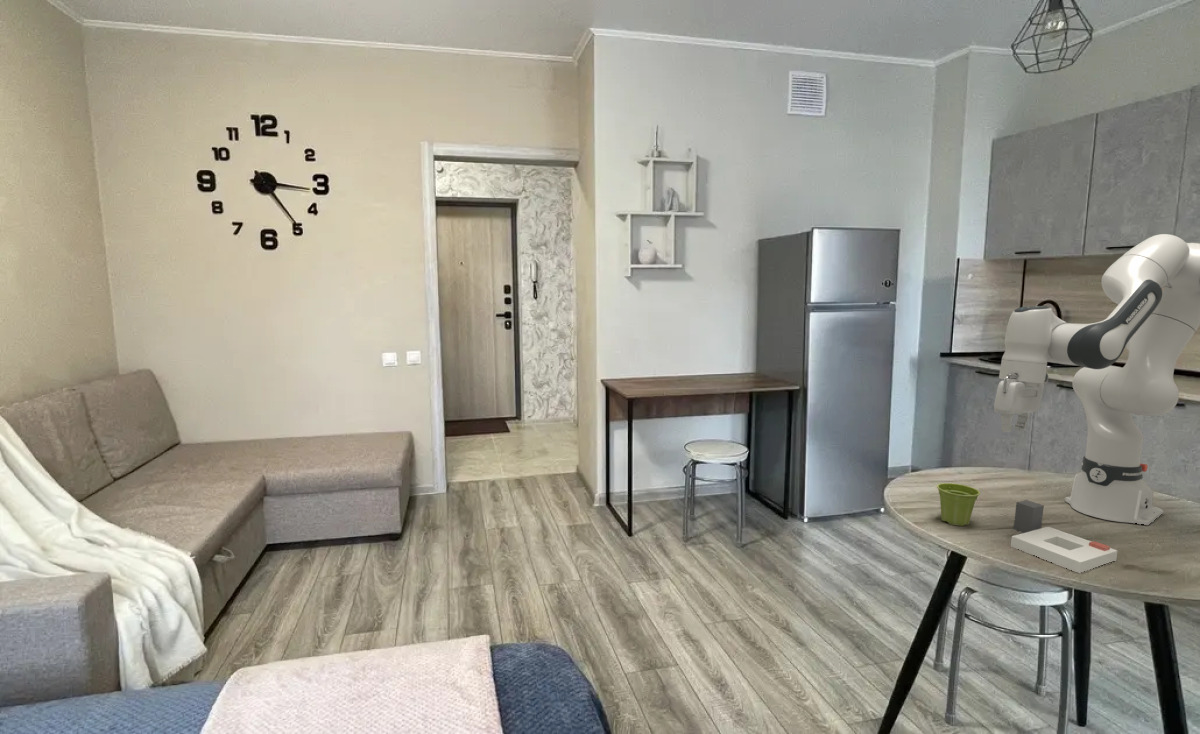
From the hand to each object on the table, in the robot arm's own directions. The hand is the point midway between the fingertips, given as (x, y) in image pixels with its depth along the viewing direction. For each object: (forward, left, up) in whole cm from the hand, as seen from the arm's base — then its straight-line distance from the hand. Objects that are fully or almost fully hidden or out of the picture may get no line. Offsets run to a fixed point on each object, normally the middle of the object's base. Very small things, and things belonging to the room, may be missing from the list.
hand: (1013, 431), depth 143 cm
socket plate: (-1, +13, -25) cm, 28 cm away
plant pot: (+4, -9, -26) cm, 28 cm away
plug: (-7, +2, -25) cm, 26 cm away
